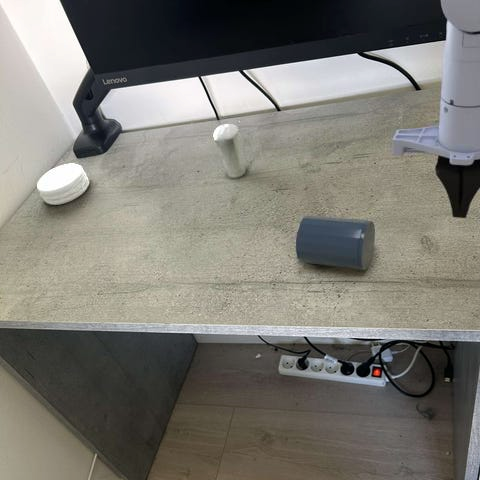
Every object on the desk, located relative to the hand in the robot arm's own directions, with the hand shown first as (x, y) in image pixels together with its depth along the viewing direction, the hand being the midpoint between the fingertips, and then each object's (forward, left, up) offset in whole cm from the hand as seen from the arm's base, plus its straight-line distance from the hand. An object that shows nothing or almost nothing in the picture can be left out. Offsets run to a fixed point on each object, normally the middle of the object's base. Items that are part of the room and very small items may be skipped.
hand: (460, 212), depth 55 cm
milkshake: (+30, -33, -10) cm, 46 cm away
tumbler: (+10, -4, -7) cm, 13 cm away
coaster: (+67, -38, -10) cm, 78 cm away
